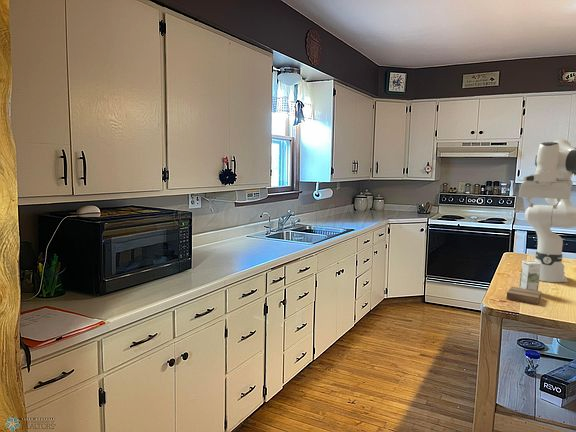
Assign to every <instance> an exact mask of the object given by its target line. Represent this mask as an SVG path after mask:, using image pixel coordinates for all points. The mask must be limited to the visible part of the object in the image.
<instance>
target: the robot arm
mask: <svg viewBox="0 0 576 432" xmlns="http://www.w3.org/2000/svg"><path fill="white" fill-rule="evenodd" d="M534 165H535V166H536V168H535V173H534V174H530V175H526V176H524V177H523V182H522V183H521V185H520V188H519V192H518V195H519V197H520V198H521V197H522V198H527V199H526V200H527V202H528V203H529V206H528V207H527V208H526V209H525V211H524V219H525V221H526V223H528V224H529V225H530V226H531V227H532V228H533V229H534V231H535V233H536V236H537V247H536V248H537V249H536V252H535V259H533V261H536V262H539V263H540V264H541V268H540V277H539V281H542V282H548V283H569V281H568V279H567V277H566V276H565V274H566V272H565V265H564V263H563V262H562V261H563V253H562V252H563V244H564V243H563V242H564V241H563V238H562V236H560V235H559V234H557V233H556V232H553V231H552V230H551V228H552V227H553V228H562V229H571V228H576V206H575V205H573V204H572V202H571V195H572V194H571V193H572V192H571V190H572V188H573V180H572V175H574V176H576V147H575V146H573V145H572V144H571V142H569V141H568V140H566V139H561V138H559V139H555V140H554V141H547V142H546V141H544V142H541V143H540V144H539V146H538V150H537V154H536V155H535V161H534ZM532 198H535V199H536V198H537V199H545V202H546V203H547V204H548V205H546V204H535V205H534V203H532Z"/></svg>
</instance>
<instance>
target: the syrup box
mask: <svg viewBox="0 0 576 432" xmlns="http://www.w3.org/2000/svg"><path fill="white" fill-rule="evenodd" d="M540 268H541V264H540V263H539V262H536V261H534V260H522V261H521V270H520V271H521V272H520V278H519V287H518V288H523V289H529V290H535V291H539V284H540V280H539V277H540Z"/></svg>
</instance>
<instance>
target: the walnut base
mask: <svg viewBox="0 0 576 432" xmlns="http://www.w3.org/2000/svg"><path fill="white" fill-rule="evenodd" d="M541 299H542V291H539V290H538V291H535V290H529V289H523V288H519V287H516V286H511V287H510V288H509V289H508V291H506V300H509V301H510V300H511V301H515V302H521V303H524V304H525V303H526V304H531V305H535V306H537V305H538V304H539V302H540V301H541Z"/></svg>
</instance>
